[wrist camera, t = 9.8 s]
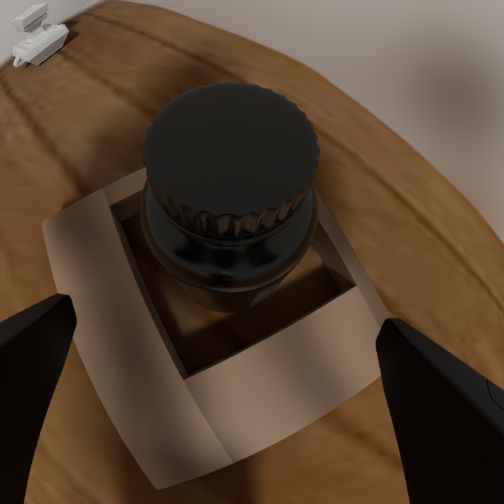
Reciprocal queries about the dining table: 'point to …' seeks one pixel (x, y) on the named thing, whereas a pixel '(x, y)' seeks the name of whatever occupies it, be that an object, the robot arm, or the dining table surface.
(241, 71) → the dining table surface
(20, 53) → the stamp
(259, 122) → the supplement bottle
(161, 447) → the tan flat square frame
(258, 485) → the dining table surface
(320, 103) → the dining table surface
